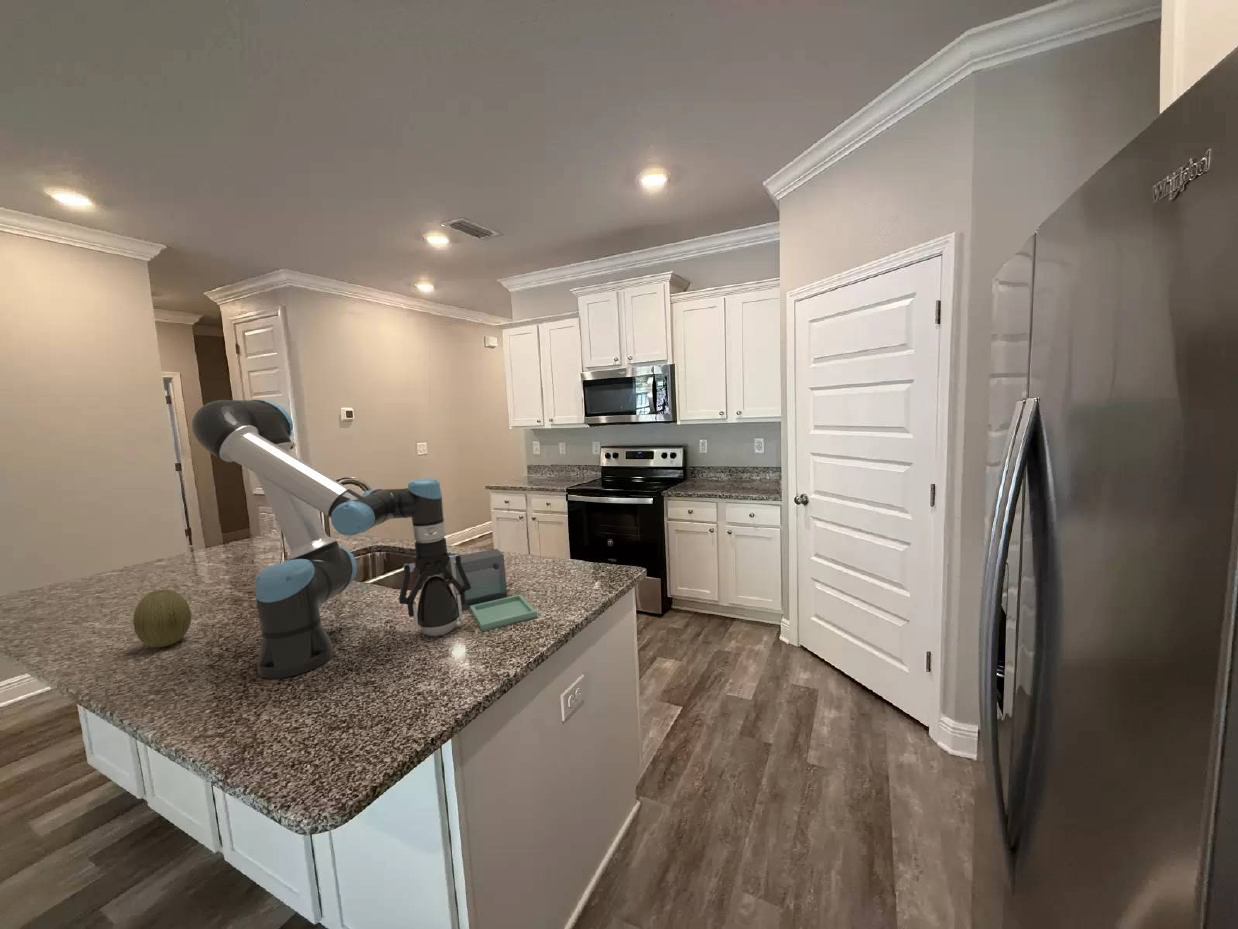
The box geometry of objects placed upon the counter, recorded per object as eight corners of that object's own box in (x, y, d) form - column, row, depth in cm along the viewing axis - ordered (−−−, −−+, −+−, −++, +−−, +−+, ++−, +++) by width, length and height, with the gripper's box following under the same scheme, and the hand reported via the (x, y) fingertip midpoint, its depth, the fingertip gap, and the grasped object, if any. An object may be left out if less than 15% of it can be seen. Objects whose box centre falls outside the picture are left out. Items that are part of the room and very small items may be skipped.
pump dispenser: (453, 640, 125) (447, 582, 123) (412, 642, 125) (405, 584, 124) (466, 622, 135) (461, 568, 133) (428, 624, 135) (422, 570, 134)
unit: (459, 611, 143) (455, 564, 141) (454, 601, 150) (450, 557, 149) (507, 600, 149) (504, 555, 147) (500, 591, 157) (496, 548, 155)
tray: (482, 631, 129) (481, 625, 129) (470, 612, 142) (469, 606, 142) (537, 617, 136) (536, 611, 136) (521, 599, 149) (520, 594, 149)
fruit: (202, 639, 134) (193, 586, 132) (147, 659, 124) (137, 601, 122) (185, 631, 139) (176, 580, 138) (131, 649, 130) (121, 595, 128)
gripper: (382, 550, 119) (392, 639, 121) (478, 534, 129) (485, 616, 132) (380, 543, 125) (390, 627, 128) (472, 529, 136) (479, 606, 138)
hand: (438, 621), depth 130 cm, fingers closed on pump dispenser, 10 cm apart
